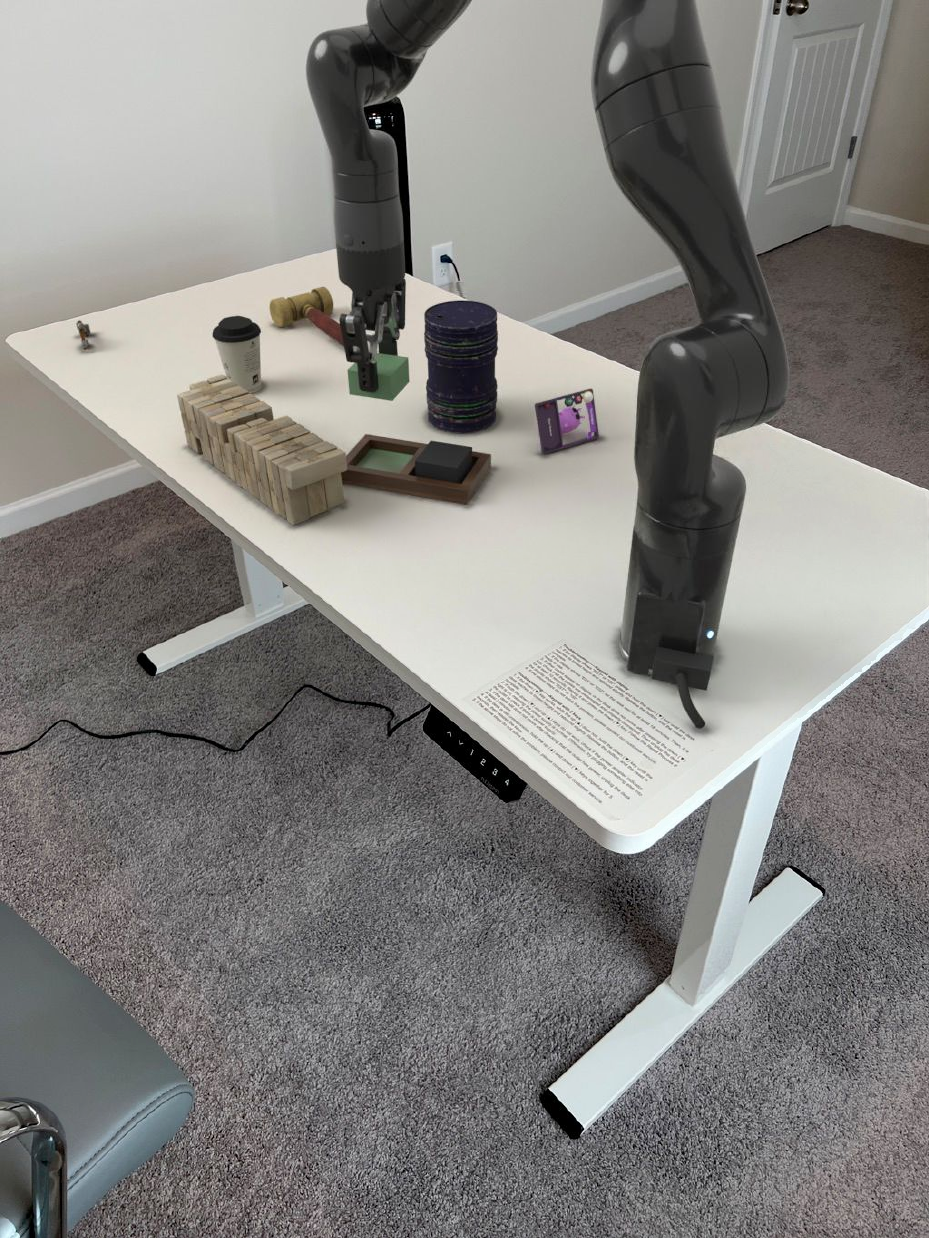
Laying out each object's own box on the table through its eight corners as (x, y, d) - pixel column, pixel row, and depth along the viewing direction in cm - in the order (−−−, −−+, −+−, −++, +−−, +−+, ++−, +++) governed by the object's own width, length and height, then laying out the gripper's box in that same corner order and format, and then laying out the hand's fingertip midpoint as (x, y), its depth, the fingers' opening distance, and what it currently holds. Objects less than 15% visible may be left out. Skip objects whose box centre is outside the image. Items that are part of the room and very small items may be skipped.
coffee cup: (273, 393, 142) (264, 327, 136) (226, 401, 140) (215, 335, 134) (263, 374, 147) (254, 310, 141) (218, 382, 145) (206, 318, 139)
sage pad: (392, 401, 115) (390, 376, 113) (349, 394, 116) (347, 369, 114) (409, 381, 119) (408, 357, 117) (368, 375, 120) (366, 351, 118)
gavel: (387, 327, 153) (333, 343, 148) (388, 354, 156) (335, 370, 151) (319, 282, 165) (267, 295, 160) (321, 308, 168) (270, 321, 163)
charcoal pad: (457, 490, 119) (457, 468, 117) (415, 483, 121) (414, 461, 119) (472, 469, 123) (472, 446, 121) (431, 462, 125) (430, 440, 123)
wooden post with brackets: (79, 350, 153) (72, 320, 152) (83, 352, 161) (76, 324, 159) (91, 348, 154) (84, 319, 152) (94, 350, 161) (88, 322, 160)
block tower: (183, 448, 131) (297, 532, 113) (170, 390, 126) (287, 468, 108) (234, 430, 135) (352, 508, 117) (223, 373, 130) (345, 446, 112)
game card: (539, 404, 124) (596, 388, 127) (518, 402, 128) (573, 386, 132) (546, 455, 126) (602, 438, 130) (526, 451, 131) (580, 435, 134)
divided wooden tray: (467, 505, 118) (467, 490, 116) (336, 482, 122) (335, 467, 121) (491, 468, 124) (491, 454, 123) (366, 447, 129) (365, 433, 128)
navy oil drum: (484, 397, 141) (484, 296, 131) (507, 427, 133) (509, 322, 124) (418, 407, 138) (414, 305, 129) (438, 438, 131) (435, 332, 122)
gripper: (374, 261, 100) (384, 410, 110) (424, 221, 110) (429, 360, 121) (309, 254, 102) (325, 401, 112) (364, 215, 112) (374, 352, 123)
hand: (379, 379), depth 117 cm, fingers closed on sage pad, 5 cm apart
